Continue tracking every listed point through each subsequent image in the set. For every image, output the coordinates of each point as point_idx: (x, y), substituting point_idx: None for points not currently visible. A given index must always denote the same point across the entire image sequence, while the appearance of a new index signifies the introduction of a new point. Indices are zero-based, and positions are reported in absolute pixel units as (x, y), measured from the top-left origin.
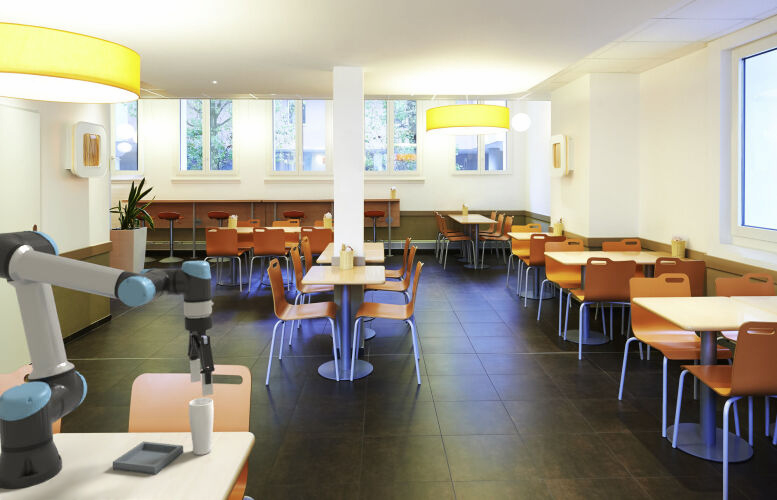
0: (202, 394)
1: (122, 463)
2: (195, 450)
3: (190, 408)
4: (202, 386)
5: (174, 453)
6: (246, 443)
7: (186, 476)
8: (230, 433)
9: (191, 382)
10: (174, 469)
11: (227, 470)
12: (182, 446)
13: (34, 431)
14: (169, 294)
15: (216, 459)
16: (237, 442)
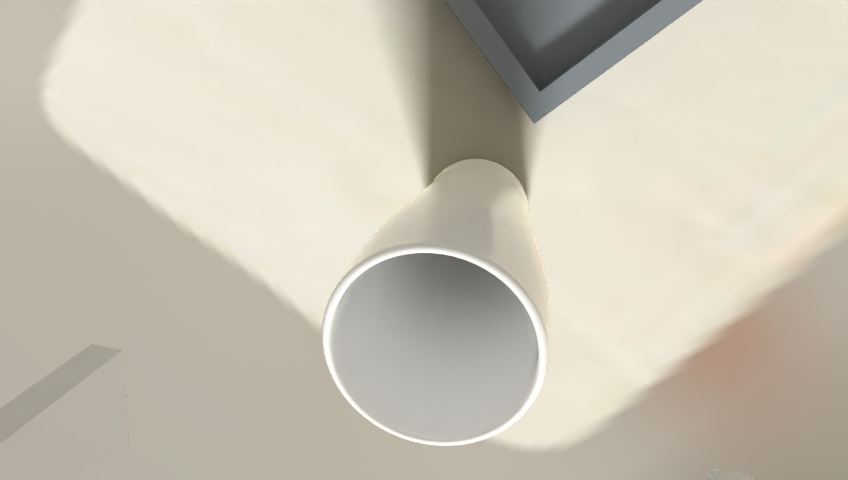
0: (112, 354)
1: None
2: (453, 165)
3: (419, 230)
4: (10, 417)
5: (479, 46)
6: None
7: (254, 31)
8: (591, 402)
9: (714, 469)
10: (366, 4)
11: (211, 211)
12: (531, 117)
13: None
14: None
15: (345, 221)
16: None
